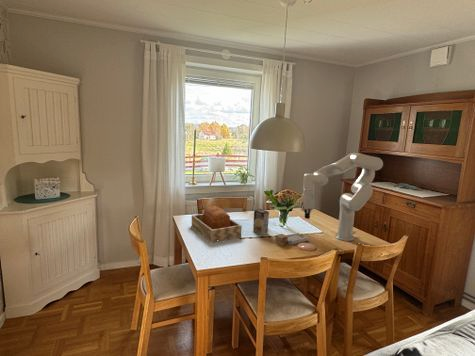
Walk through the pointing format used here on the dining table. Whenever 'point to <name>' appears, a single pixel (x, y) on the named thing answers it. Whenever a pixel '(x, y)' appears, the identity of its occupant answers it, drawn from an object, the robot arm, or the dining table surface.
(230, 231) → the bread crate
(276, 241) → the walnut block
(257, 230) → the coffee box
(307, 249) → the coaster
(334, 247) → the dining table surface
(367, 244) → the dining table surface
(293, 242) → the channel
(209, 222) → the bread
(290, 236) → the push bar
